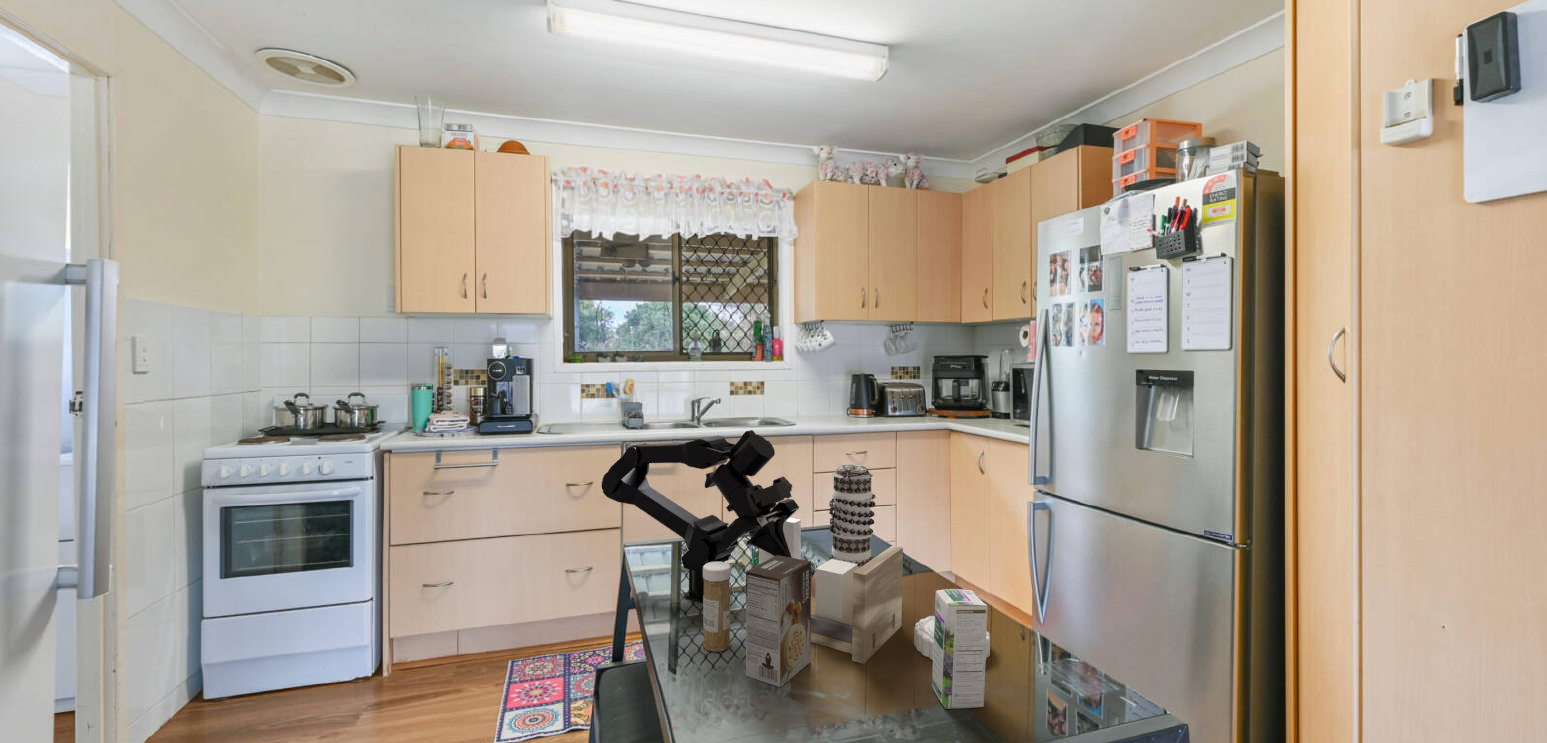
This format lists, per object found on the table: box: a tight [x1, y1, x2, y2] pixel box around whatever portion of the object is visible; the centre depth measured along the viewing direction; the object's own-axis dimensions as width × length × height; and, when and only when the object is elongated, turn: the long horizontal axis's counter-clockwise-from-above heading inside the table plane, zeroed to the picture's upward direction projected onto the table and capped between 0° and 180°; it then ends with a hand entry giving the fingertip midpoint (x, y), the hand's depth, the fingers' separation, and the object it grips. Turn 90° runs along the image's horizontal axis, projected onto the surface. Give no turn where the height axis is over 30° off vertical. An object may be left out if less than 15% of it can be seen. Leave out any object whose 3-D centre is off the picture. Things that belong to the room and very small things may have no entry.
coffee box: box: [745, 555, 812, 688], centre depth 98 cm, size 9×6×16 cm
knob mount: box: [811, 545, 904, 665], centre depth 110 cm, size 12×16×14 cm
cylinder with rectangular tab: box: [758, 517, 802, 565], centre depth 139 cm, size 9×9×12 cm
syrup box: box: [931, 588, 989, 710], centre depth 91 cm, size 6×6×14 cm
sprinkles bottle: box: [702, 561, 732, 653], centre depth 105 cm, size 5×5×14 cm
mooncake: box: [913, 615, 991, 661], centre depth 106 cm, size 12×12×4 cm
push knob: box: [811, 559, 858, 625], centre depth 112 cm, size 6×6×10 cm
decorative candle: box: [828, 464, 876, 569], centre depth 129 cm, size 9×9×25 cm
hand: (789, 560), depth 116 cm, fingers closed
